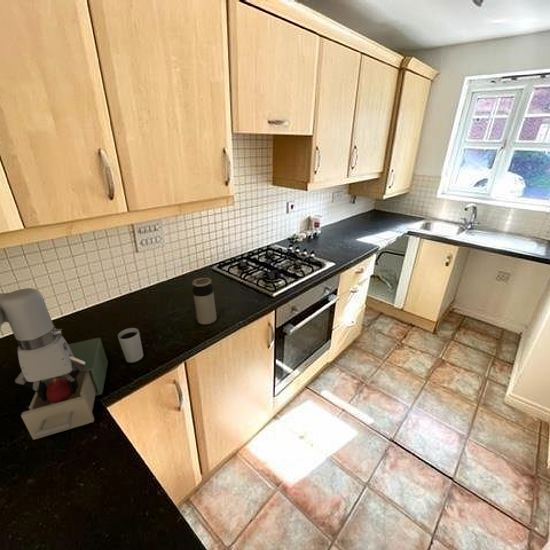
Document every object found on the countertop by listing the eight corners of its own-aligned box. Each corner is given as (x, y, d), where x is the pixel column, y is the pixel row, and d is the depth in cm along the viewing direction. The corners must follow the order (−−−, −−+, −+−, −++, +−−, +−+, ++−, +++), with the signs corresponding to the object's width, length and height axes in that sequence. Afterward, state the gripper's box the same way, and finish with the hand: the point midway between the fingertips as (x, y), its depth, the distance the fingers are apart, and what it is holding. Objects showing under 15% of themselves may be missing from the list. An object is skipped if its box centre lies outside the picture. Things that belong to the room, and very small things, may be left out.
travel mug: (220, 317, 129) (215, 279, 121) (208, 326, 122) (203, 287, 115) (205, 313, 132) (200, 276, 125) (193, 322, 126) (187, 283, 118)
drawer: (90, 437, 76) (81, 413, 73) (26, 457, 72) (13, 432, 68) (100, 384, 93) (93, 363, 89) (49, 398, 88) (39, 376, 85)
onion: (80, 398, 82) (72, 375, 79) (58, 413, 78) (48, 390, 75) (69, 390, 85) (60, 368, 82) (46, 404, 81) (36, 381, 77)
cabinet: (102, 394, 90) (93, 367, 86) (44, 410, 86) (31, 382, 81) (107, 362, 104) (100, 337, 100) (58, 374, 99) (47, 348, 95)
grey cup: (137, 348, 110) (131, 325, 106) (148, 355, 107) (142, 331, 103) (120, 359, 105) (113, 335, 101) (131, 365, 102) (124, 341, 98)
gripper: (80, 322, 79) (98, 375, 86) (0, 337, 74) (26, 393, 81) (75, 337, 73) (94, 394, 80) (-14, 356, 67) (16, 414, 74)
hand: (60, 393), depth 80 cm, fingers closed on onion, 5 cm apart
